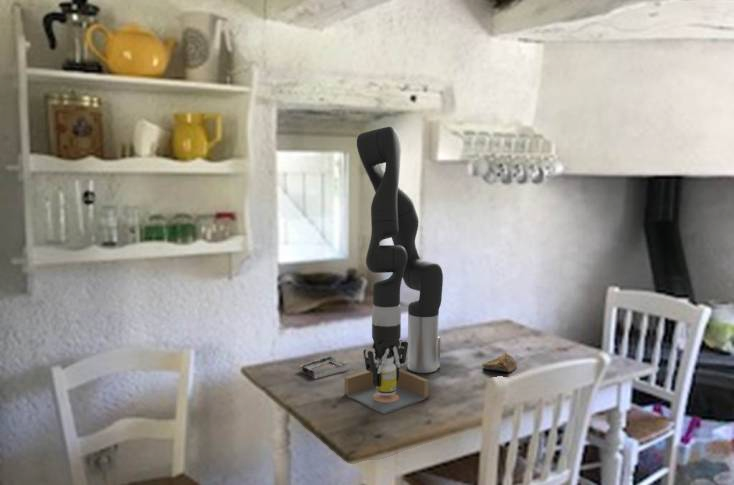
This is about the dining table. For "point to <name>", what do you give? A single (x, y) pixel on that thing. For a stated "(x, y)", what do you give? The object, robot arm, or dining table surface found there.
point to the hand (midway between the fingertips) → (385, 382)
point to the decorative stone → (501, 363)
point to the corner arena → (406, 394)
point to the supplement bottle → (387, 378)
